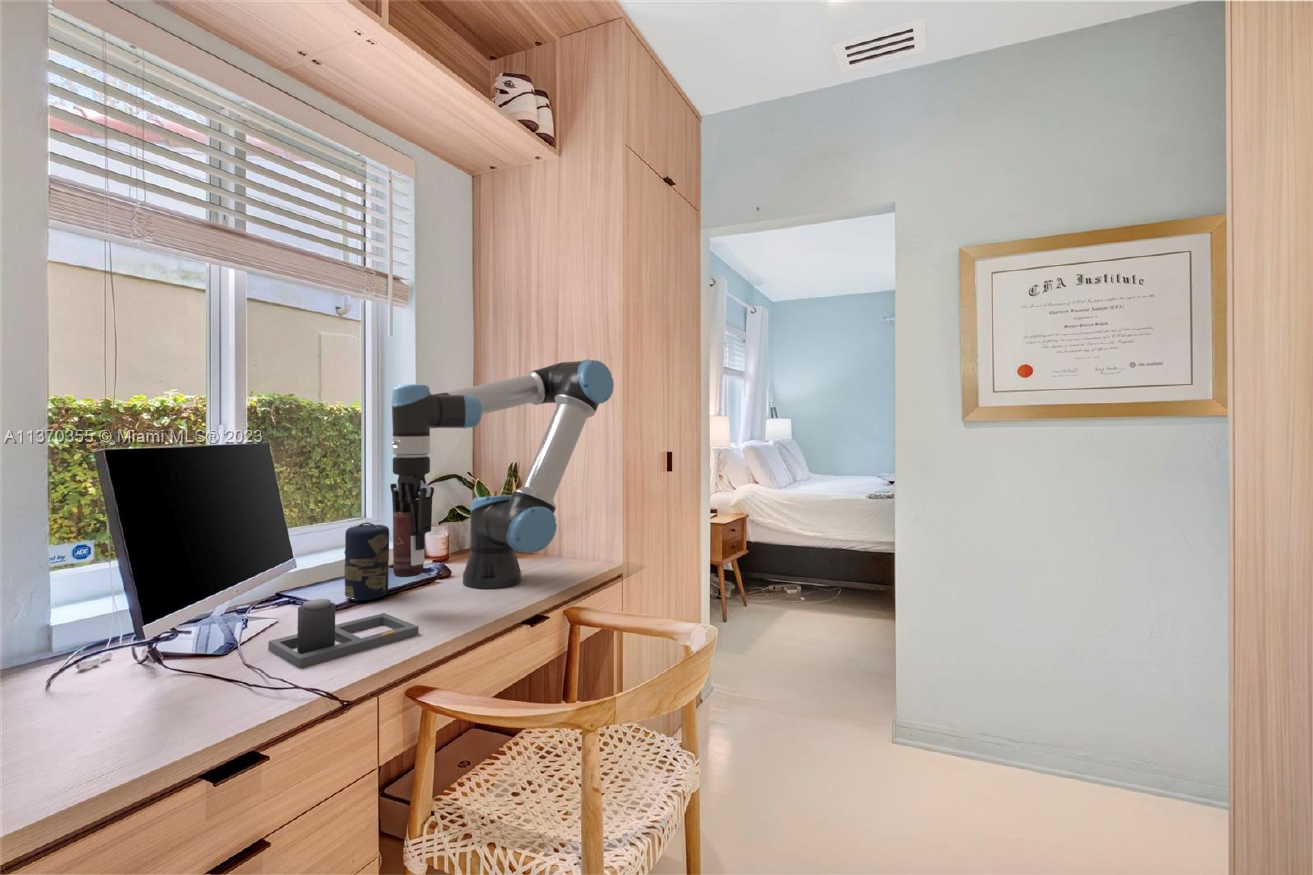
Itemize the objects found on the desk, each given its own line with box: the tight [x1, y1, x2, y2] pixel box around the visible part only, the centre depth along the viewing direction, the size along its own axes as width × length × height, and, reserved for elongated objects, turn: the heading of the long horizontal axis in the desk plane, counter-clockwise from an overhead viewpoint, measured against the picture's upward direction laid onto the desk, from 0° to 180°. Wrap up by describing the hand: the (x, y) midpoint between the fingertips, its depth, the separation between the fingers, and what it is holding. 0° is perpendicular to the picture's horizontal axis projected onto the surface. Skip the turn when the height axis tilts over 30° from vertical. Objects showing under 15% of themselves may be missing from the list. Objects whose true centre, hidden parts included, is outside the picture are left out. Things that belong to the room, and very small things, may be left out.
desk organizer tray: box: [268, 612, 420, 669], centre depth 115 cm, size 22×13×2 cm, turn 143°
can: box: [392, 510, 424, 578], centre depth 132 cm, size 6×6×14 cm
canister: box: [343, 522, 390, 601], centre depth 143 cm, size 10×10×18 cm
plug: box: [296, 598, 336, 654], centre depth 110 cm, size 6×6×9 cm
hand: (412, 562), depth 131 cm, fingers open, 3 cm apart
